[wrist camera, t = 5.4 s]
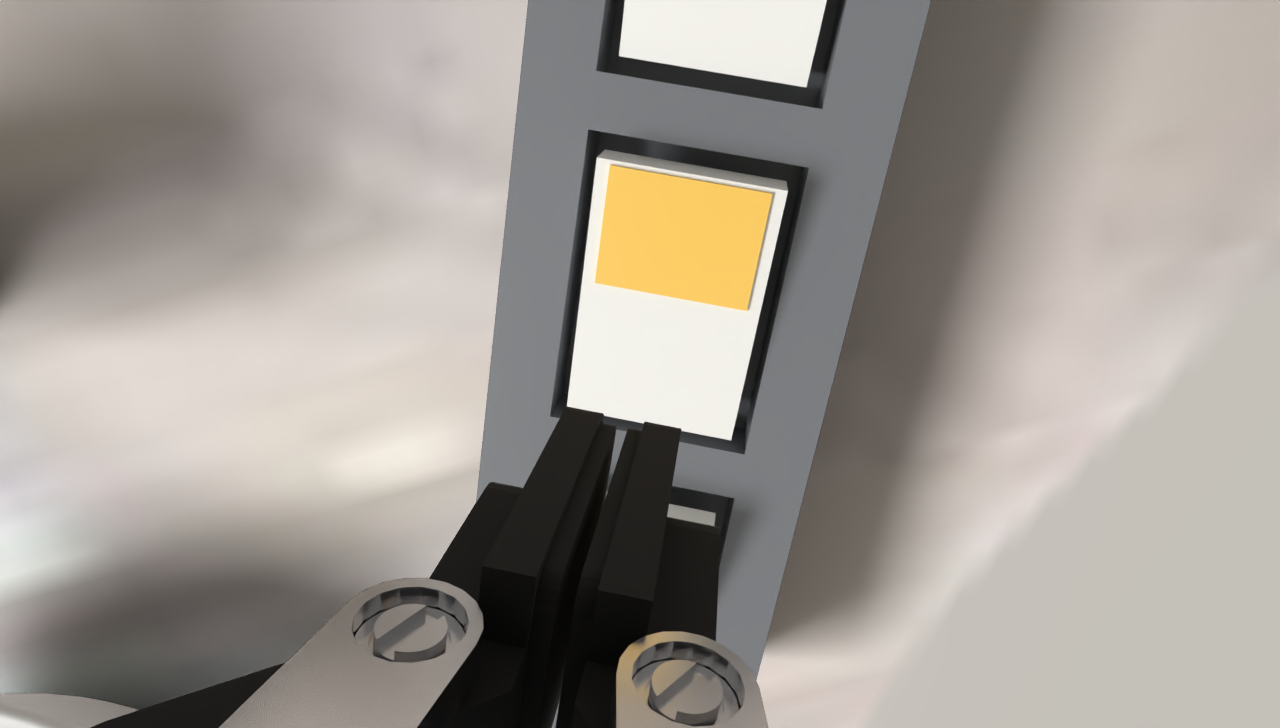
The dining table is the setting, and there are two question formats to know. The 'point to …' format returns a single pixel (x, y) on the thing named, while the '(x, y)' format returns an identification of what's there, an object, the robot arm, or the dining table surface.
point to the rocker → (726, 36)
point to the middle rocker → (672, 291)
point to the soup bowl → (55, 711)
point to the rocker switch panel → (798, 279)
